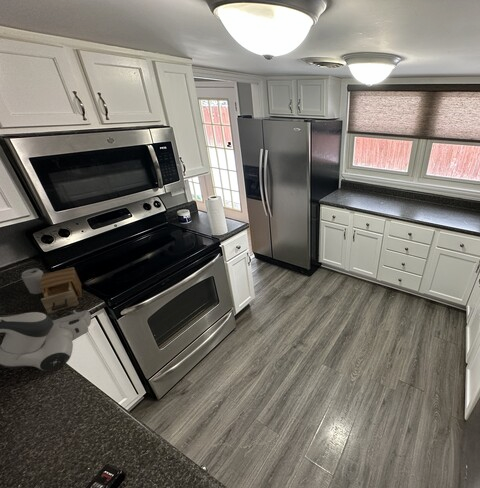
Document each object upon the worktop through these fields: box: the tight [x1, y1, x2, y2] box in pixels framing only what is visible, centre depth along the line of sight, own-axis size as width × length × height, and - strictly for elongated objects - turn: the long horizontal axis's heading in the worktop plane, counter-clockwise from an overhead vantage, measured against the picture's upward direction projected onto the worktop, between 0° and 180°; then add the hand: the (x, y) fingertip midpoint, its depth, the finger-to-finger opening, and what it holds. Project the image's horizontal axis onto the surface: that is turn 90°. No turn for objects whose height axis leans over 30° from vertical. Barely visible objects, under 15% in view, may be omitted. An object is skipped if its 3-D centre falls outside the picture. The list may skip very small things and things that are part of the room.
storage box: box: [40, 266, 83, 300], centre depth 132 cm, size 15×12×11 cm
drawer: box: [40, 282, 80, 314], centre depth 123 cm, size 19×11×9 cm, turn 41°
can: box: [20, 267, 44, 295], centre depth 134 cm, size 8×8×12 cm
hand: (58, 316), depth 110 cm, fingers open, 8 cm apart
